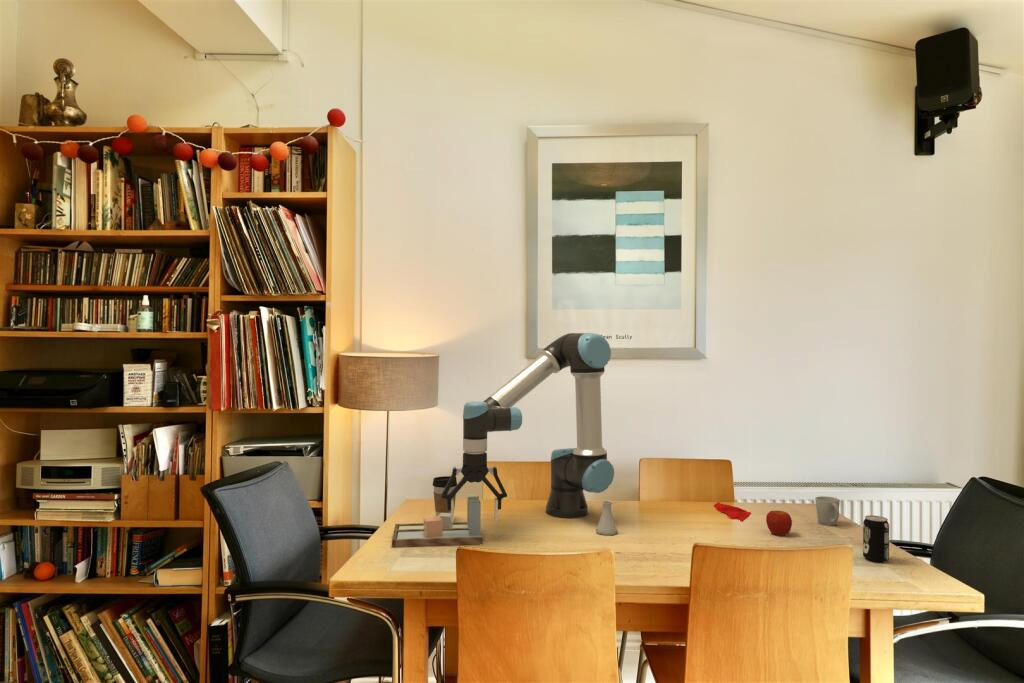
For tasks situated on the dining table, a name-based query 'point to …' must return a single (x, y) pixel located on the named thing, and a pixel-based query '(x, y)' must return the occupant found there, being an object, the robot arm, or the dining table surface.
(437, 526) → the terracotta cube
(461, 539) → the lane frame
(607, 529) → the flask
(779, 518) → the apple
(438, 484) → the coffee cup
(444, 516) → the grey cube
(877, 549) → the beverage can
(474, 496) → the grey l-shaped bracket
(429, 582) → the dining table surface
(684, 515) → the dining table surface
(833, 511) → the cup
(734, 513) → the cloth
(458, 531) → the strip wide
